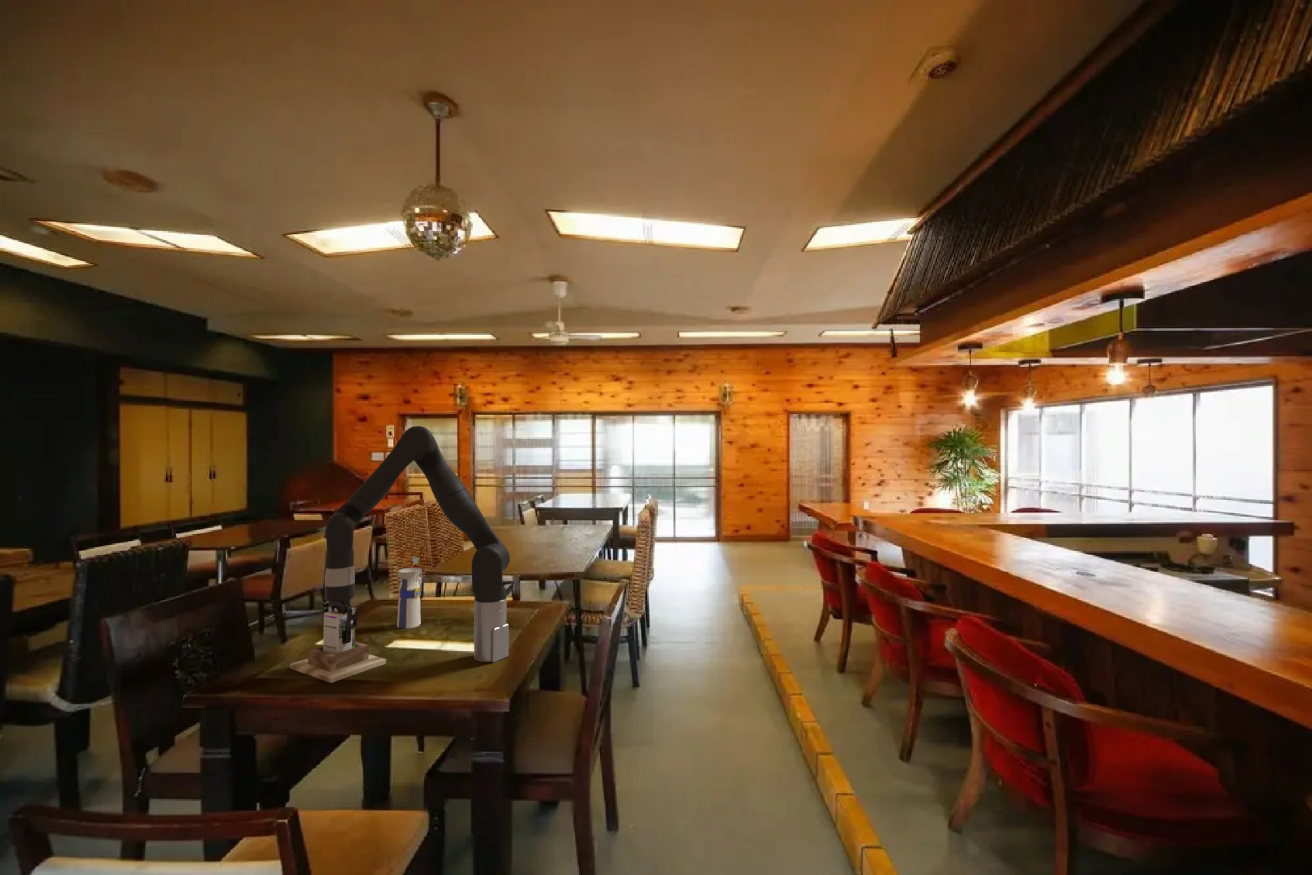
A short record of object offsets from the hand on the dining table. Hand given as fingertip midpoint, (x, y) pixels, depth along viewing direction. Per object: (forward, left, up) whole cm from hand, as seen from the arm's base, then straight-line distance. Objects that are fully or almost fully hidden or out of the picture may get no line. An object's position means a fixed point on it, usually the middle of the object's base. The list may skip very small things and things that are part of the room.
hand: (339, 640), depth 163 cm
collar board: (0, 0, -7) cm, 7 cm away
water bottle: (+16, -35, -7) cm, 39 cm away
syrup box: (0, 0, -6) cm, 6 cm away
